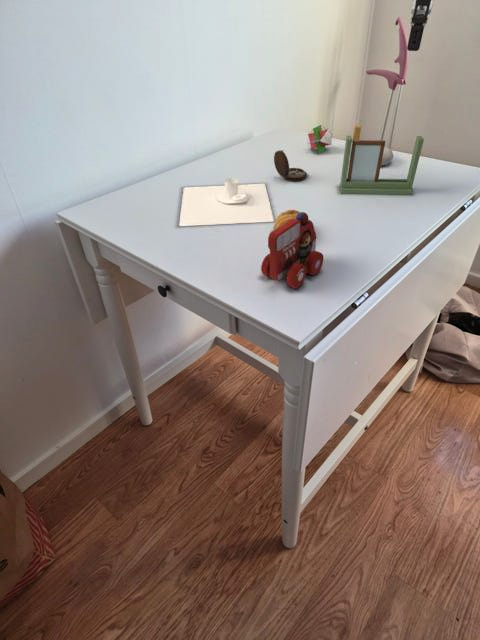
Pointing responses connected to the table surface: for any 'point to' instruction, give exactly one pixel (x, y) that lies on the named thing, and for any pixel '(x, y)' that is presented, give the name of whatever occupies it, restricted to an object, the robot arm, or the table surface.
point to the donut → (387, 156)
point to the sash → (365, 159)
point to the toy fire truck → (292, 252)
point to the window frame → (383, 184)
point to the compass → (287, 168)
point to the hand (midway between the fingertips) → (413, 47)
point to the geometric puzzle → (320, 138)
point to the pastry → (285, 217)
